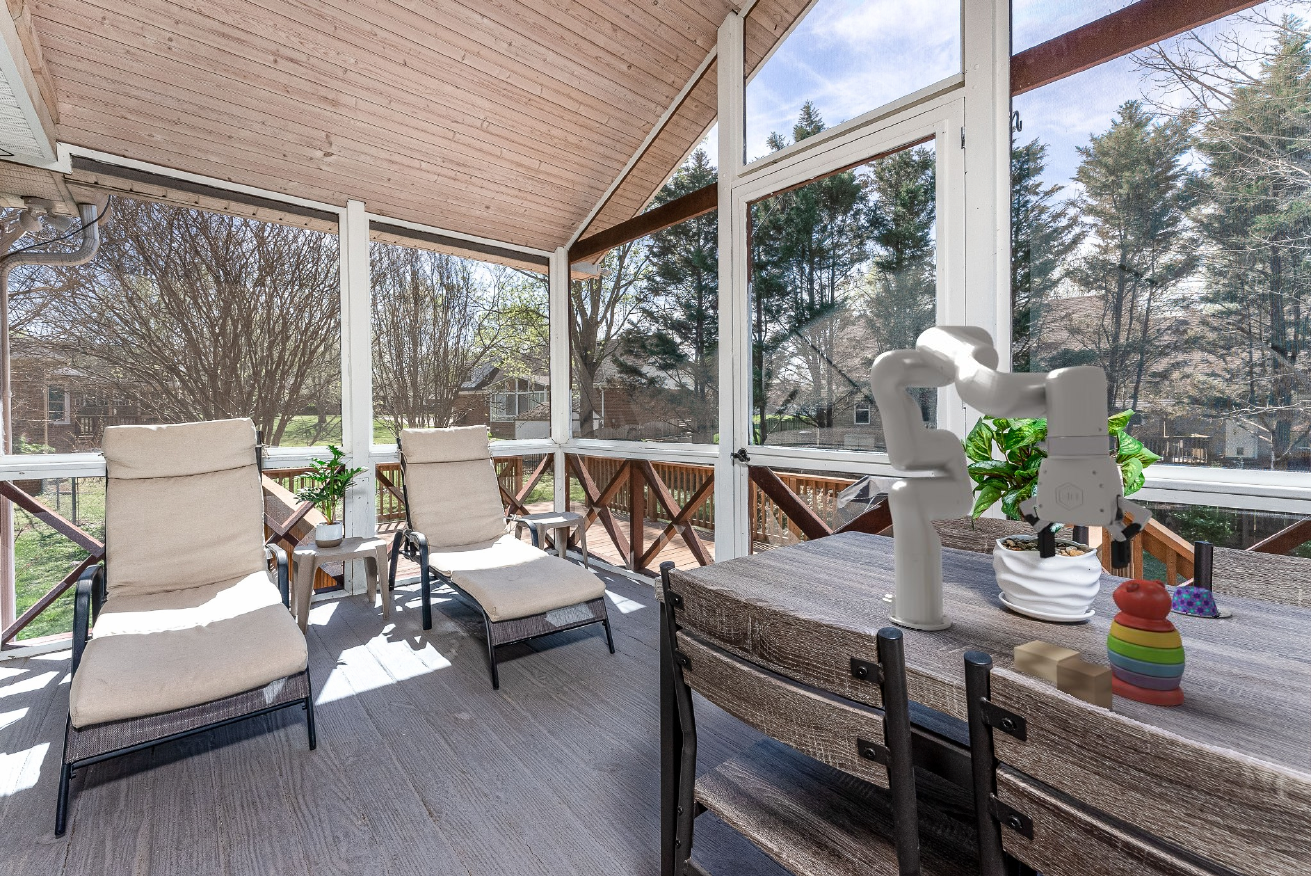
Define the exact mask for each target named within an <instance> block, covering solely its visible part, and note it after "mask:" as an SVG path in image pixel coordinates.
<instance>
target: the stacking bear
mask: <svg viewBox="0 0 1311 876" xmlns="http://www.w3.org/2000/svg"><path fill="white" fill-rule="evenodd" d="M1112 599H1113V602H1114V604H1115V606H1116V607H1117V608H1118V609H1119V610H1120V611H1119V612H1117V613H1116V614H1115V615H1114V616H1113V620H1112V621H1111V625H1110V628H1109V633H1108V635H1107V638H1106V651H1107V657H1108V659H1109V665H1110V669H1112V694H1115V695H1117V696H1121V697H1124V698H1126V699H1129V700H1133V701H1137V702H1140V703H1143V704H1149V705H1156V706H1170V707H1171V706H1179V705H1182V704H1183V703H1184V702H1185V695H1184V692H1183V690H1182V688H1181V686H1180V684H1181V682H1182V679H1183V674H1184V673H1185V668H1186V661H1185V660H1186V654H1185V648H1184V645H1183V640H1182V637H1181V634H1180V631H1179V630H1178V628H1176V627H1175V625H1174V623H1173V622H1172V621H1170V619H1168V618H1167V617H1168V616H1169V614H1170V612H1171V610H1172V609H1171V607H1172V596H1171V595H1170V593H1169V591H1168V590H1167V589H1166V584H1165V583H1164V582H1163V581H1162V580H1160V579H1154V580H1153V581H1151V580H1148V579H1140V578H1139V579H1138V578H1135V579H1134V578H1133V579H1130V580H1126V581H1124V582H1122V583H1121V584H1120V585H1119V586H1118V587H1117V588H1116V589H1115V590H1113V592H1112Z"/></svg>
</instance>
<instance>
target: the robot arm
mask: <svg viewBox="0 0 1311 876" xmlns="http://www.w3.org/2000/svg"><path fill="white" fill-rule="evenodd" d="M999 360H1000V358H999V353H998V351H997V350H996V348H995V345H994V341H993V337H992V335H991V334H990V333H989V332H988V331H987V330H986V329H984V328H983V327H980V326H976V325H935V326H932V327H930V328H927V329H926V330H924V331H923V332H922V333H921V334H919V336H918V338H917V340H916V341H915V348H914V349H913V348H912V349H911V348H910V349H908V348H907V349H903V348H902V349H892V350H888V351H885V352H883V353H881V354H879V355H878V356H877V357H876V358H875V359H874V361H873V362H872V365H871V369H870V375H869V377H870V378H869V379H870V381H869V383H870V389H871V393H872V395H873V399H874V400H875V403H876V406H877V408H878V411H879V414H880V418H881V423H882V429H883V434H884V439H885V440H884V442H885V446H886V452H887V457H888V462H889V463H890V465H891V467H892V468H893V469H894V470H895V471H898V472H902V473H903V472H904V473H916V472H917V473H922V472H932V473H933V475H934V476H916V477H915V476H911V477H905V478H901V479H899V480H897V481H895V482H894V483H893V484H891V486H890V488H889V490H888V493H887V494H888V495H887V500H888V507H889V511H890V515H891V516H890V517H891V522H892V528H893V529H892V530H893V549H894V550H893V552H894V553H893V554H894V556H893V559H894V594H891V593H886V594H885V596H884V597H883V598H882V604H885V605H888V606H890V607H891V608H890V609H891V610H890V611H888V614H887V619H888V618H889V619H888V620H889V621H890V622H891V621H893V622H895V623H900V624H902V625H905V626H906V627H911V628H917V629H922V630H921V631H942V630H946V629H948V628H950V627H951V626H952V619H951V617H950V616H948V615H946V614H944V598H943V597H944V596H943V595H944V593H943V550H942V549H943V547H942V540H941V537H940V535H939V533H938V532H937V531H938V530H936V528H935V527H934V526H933V523H932V521H933V522H934V521H943V520H945V521H946V520H957V519H961V518H963V519H964V518H965V517H966V516H968V515H969V514H970V513H971V511H972V509H973V505H974V493H973V487H972V482H971V478H970V473H969V468H968V463H967V459H966V453H965V450H964V446H963V443H962V441H961V440H960V438H959V437H958V436H957V435H956V434H955V433H954V432H952V431H951V430H948V429H943V428H927V427H926V424H925V423H924V422H925V421H924V420H923V413H922V409H921V407H920V406H919V403H918V402H917V401H916V400H915V398H914V397H913V396H912V395H911V394H910V393H909V392H908V391H907V390H906V389H907V388H915V389H916V388H918V389H919V388H920V389H921V388H927V389H928V388H944V387H946V386H950V385H952V384H954V387H955V390H956V393H957V394H958V397H959V398H960V400H961V401H963V403H965V404H966V405H968V406H969V407H971V408H972V409H975V410H976V411H977V412H980V413H981V414H983V415H986V416H988V417H991V418H994V419H999V420H1000V419H1001V420H1003V419H1005V420H1009V419H1010V420H1013V419H1030V420H1031V419H1046V436H1047V437H1045V441H1040V442H1039V444H1038V448H1039V450H1040V451H1045V452H1046V455H1047V457H1046V458H1045V457H1043V458H1041V462H1040V466H1039V470H1038V476H1037V477H1038V478H1037V485H1036V487H1037V488H1036V489H1037V490H1036V495H1035V496H1033V497H1030V498H1028V499H1025V500H1023V501H1021V502H1020V503H1019V504H1018V508H1019V509H1020V510H1021V512H1022V514H1023V515H1024V519H1025V522H1027V523H1028V524H1029V525H1030V526H1031V527H1032V530H1033V531H1034V532H1035V533H1036V536H1037V551H1038V552H1039V557H1040V559H1049V558H1053V557H1055V556H1056V554H1057V553H1056V534H1055V531H1053V530H1052V529H1053V527H1054V526H1055V525H1056V524H1063V525H1072V526H1084V527H1095V528H1099V527H1104V528H1105V529H1106V530H1107V531H1108V533H1109V534H1111V536H1112V537H1113V538H1114V540H1111V541H1110V556H1111V557H1110V559H1111V560H1110V561H1111V564H1110V565H1111V568H1112V569H1115V570H1121V569H1126V568H1128V567H1129V564H1130V563H1131V561H1132V551H1131V549H1132V548H1131V540H1134V538H1135V537H1136V536H1137V535H1138V534H1140V533H1141V532H1142V531H1144V530H1145V528H1146V526H1147V524H1148V522H1149V521H1150V520H1151V518H1152V516H1153V512H1152V510H1150V509H1148V508H1146V507H1144V506H1141V505H1139V504H1137V503H1135V502H1133V501H1131V500H1130V499H1127V498H1125V497H1124V492H1123V485H1122V480H1121V475H1120V472H1119V467H1118V464H1117V461H1116V458H1115V457H1110V436H1109V415H1108V414H1109V412H1108V388H1107V383H1108V382H1107V375H1106V371H1105V370H1104V369H1103V368H1101V367H1100V366H1095V365H1077V366H1067V367H1062V368H1055V369H1053V370H1050V371H1049V372H1004V371H999V370H997V369H998V366H999V363H1000V361H999ZM1035 507H1036V512H1035ZM1125 512H1127V513H1129V514H1131V515H1133V519H1132V522H1131V523H1130V524H1129V525H1126V524H1125V523H1124V520H1125ZM906 627H905V628H906ZM911 628H910V629H911ZM917 629H916V630H917Z"/></svg>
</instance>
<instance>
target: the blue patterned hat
mask: <svg viewBox="0 0 1311 876" xmlns="http://www.w3.org/2000/svg"><path fill="white" fill-rule="evenodd" d="M1171 599H1172V607H1171V610H1170V612H1175V613H1178V614H1183V615H1187V616H1188V615H1189V616H1196V617H1201V616H1200V615H1203V616H1202V618H1203V617H1205V618H1213V617H1212V616H1206V615H1217V616H1218V614H1217V613H1218V610H1217V609H1219V611H1223V612H1226V613H1224V614H1226V615H1223V616H1219V617H1218V618H1223V617H1230V616H1231V615H1232V613H1231V612H1230V611H1228V610H1227V609H1225V608H1222V607H1218V606H1217V604H1216V601H1215V598H1214V595H1213V593H1212V591H1211V590H1209V589H1206V588H1204V587H1198V586H1192V585H1191V586H1189V585H1181V586H1179V585H1178V586H1176V587H1175V589H1174V592H1173V595H1172V597H1171ZM1172 609H1174V611H1173V610H1172ZM1175 610H1177V611H1175ZM1179 611H1181V612H1186V613H1191V614H1186V613H1181V612H1179ZM1194 614H1198V615H1194Z"/></svg>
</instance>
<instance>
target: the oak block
mask: <svg viewBox="0 0 1311 876" xmlns="http://www.w3.org/2000/svg"><path fill="white" fill-rule="evenodd" d="M1013 650H1014V651H1013V655H1014V656H1013V657H1014V659H1013V660H1014V670H1017V671H1020V672H1021V673H1024V674H1025V673H1026V674H1028V675H1032V676H1034V677H1038V678H1040V679H1044V680H1046V681H1049V682H1052V683H1055V684H1057V664H1060V663H1063V662H1065V661H1068V660H1070V659H1073V658H1075V659H1079V660H1081V655H1082V654H1081V652H1080V651H1077V650H1073V649H1071V648H1070V649H1069V648H1066V647H1064V646H1063V647H1062V646H1060V645H1056V644H1052V643H1048V642H1046V641H1041V640H1037V639H1036V640H1032V641H1029V642H1027V643H1024V644H1021V645H1018V646H1014V647H1013Z"/></svg>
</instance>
